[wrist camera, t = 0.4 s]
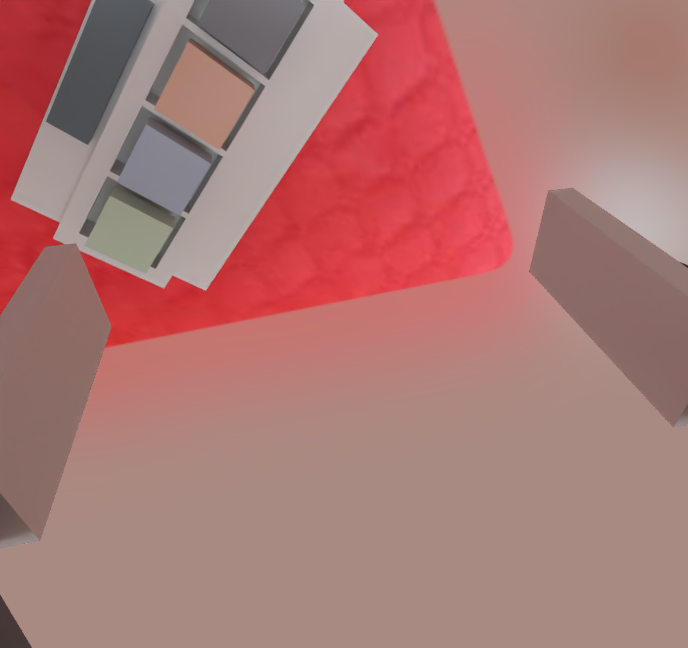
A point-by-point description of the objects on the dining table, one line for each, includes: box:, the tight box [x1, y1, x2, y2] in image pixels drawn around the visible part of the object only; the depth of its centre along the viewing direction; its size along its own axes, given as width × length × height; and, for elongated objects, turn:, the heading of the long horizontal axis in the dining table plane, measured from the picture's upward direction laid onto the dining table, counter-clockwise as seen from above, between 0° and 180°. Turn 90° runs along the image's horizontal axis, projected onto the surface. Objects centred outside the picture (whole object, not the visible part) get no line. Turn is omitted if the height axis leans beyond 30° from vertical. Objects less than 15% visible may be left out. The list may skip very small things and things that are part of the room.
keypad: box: [11, 0, 378, 291], centre depth 30 cm, size 14×22×3 cm, turn 143°
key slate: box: [117, 117, 212, 216], centre depth 30 cm, size 4×4×2 cm
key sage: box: [84, 186, 175, 274], centre depth 32 cm, size 4×4×2 cm
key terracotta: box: [154, 38, 255, 150], centre depth 28 cm, size 4×4×2 cm
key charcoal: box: [197, 0, 305, 74], centre depth 26 cm, size 4×4×2 cm
